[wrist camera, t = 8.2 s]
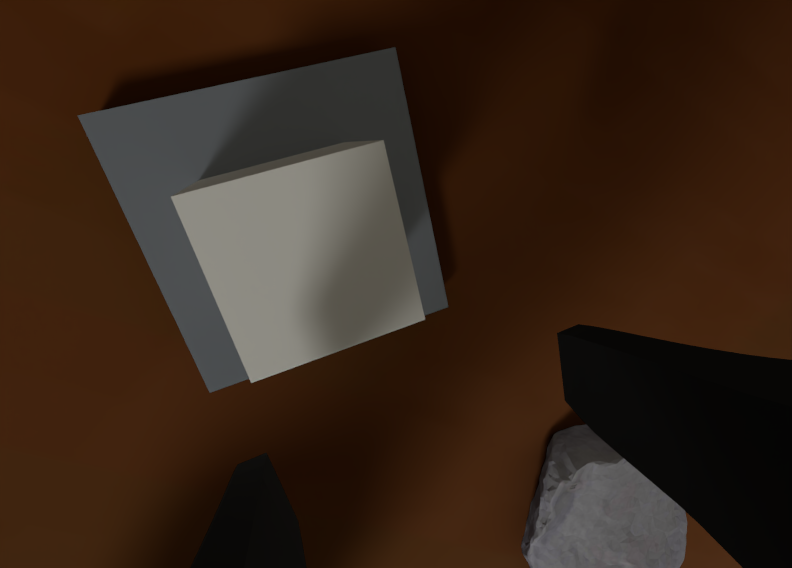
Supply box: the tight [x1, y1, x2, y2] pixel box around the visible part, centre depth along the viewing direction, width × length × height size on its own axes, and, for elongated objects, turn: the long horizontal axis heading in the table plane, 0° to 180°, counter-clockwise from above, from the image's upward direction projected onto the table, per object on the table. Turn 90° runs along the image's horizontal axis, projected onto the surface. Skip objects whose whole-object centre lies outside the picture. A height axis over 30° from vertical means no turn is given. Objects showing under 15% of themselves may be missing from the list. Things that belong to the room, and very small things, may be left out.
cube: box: [171, 140, 425, 383], centre depth 13 cm, size 5×5×5 cm
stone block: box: [521, 424, 687, 568], centre depth 26 cm, size 12×5×10 cm
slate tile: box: [78, 47, 448, 393], centre depth 16 cm, size 10×10×2 cm
